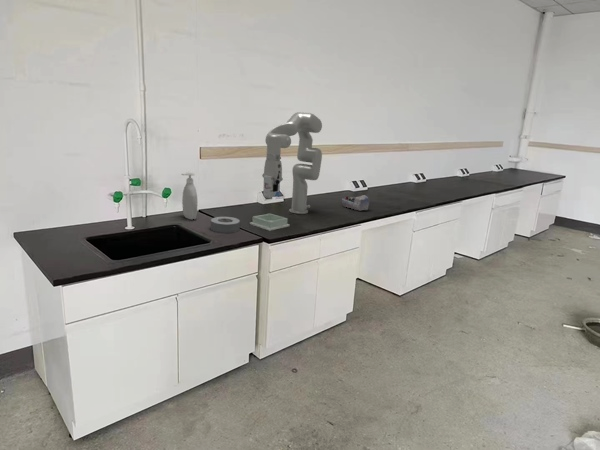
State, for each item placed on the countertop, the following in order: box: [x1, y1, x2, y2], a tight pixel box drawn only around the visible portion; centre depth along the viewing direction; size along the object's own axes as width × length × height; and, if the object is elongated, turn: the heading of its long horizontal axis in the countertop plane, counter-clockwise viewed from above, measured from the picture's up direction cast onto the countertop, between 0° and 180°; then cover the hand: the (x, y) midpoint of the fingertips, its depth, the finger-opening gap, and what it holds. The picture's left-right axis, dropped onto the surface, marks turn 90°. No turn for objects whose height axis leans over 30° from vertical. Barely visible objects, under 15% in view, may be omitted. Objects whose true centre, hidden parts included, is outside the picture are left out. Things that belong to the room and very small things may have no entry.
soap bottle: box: [181, 170, 198, 221], centre depth 233 cm, size 14×8×27 cm, turn 41°
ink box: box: [262, 176, 281, 199], centre depth 228 cm, size 9×5×12 cm, turn 141°
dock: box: [249, 213, 291, 232], centre depth 233 cm, size 16×16×4 cm
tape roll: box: [210, 216, 241, 234], centre depth 220 cm, size 15×15×5 cm
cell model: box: [341, 194, 370, 212], centre depth 291 cm, size 13×11×20 cm
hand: (271, 190), depth 228 cm, fingers closed on ink box, 5 cm apart
